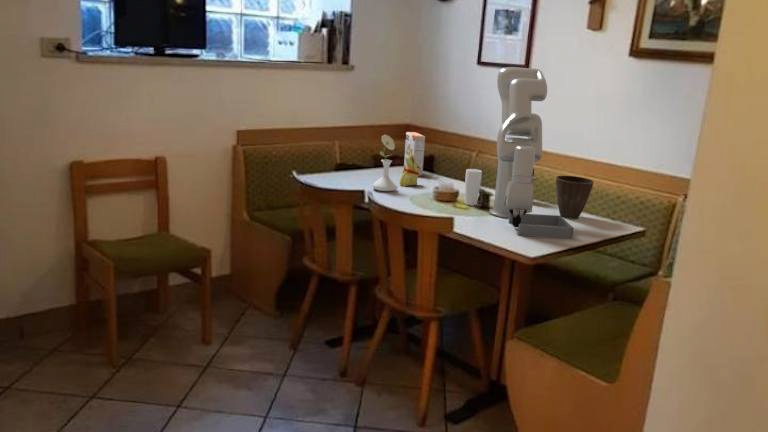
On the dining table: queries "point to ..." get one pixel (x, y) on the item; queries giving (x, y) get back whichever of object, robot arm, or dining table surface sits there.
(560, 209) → the plant pot
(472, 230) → the dining table surface
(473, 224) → the dining table surface
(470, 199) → the drinking glass
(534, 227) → the frame
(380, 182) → the flower in vase
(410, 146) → the cracker box
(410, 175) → the chocolate bunny
